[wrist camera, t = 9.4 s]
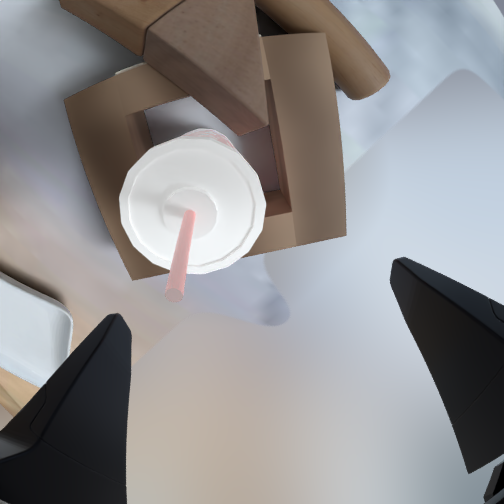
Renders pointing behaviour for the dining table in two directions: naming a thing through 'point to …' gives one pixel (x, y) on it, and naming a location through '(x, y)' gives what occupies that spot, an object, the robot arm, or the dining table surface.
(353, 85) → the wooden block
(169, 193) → the beverage cup
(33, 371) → the salad plate
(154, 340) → the dining table surface
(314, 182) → the holder block
